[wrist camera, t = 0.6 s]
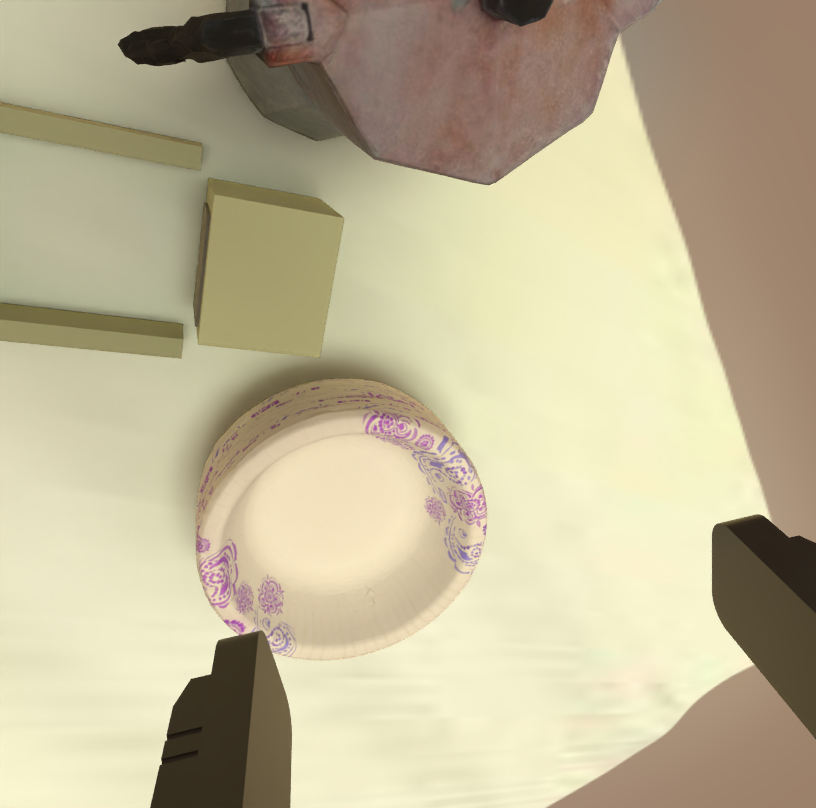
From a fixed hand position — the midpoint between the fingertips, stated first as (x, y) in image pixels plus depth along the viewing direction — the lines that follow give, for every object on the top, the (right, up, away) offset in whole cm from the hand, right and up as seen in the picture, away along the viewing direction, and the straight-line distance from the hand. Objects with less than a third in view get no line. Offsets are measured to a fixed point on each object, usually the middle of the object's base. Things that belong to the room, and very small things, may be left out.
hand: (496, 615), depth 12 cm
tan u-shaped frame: (-14, +12, +22) cm, 29 cm away
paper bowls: (-7, -1, +30) cm, 31 cm away
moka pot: (-6, +21, +21) cm, 30 cm away
